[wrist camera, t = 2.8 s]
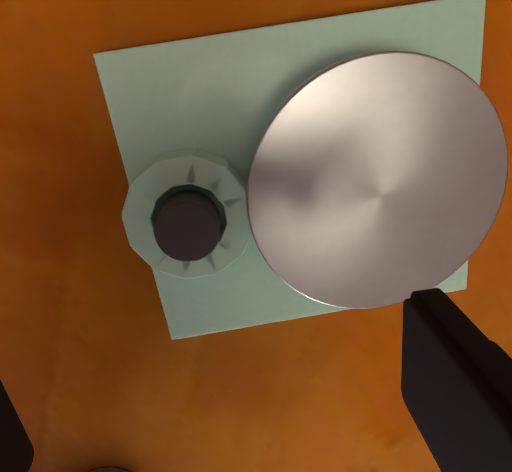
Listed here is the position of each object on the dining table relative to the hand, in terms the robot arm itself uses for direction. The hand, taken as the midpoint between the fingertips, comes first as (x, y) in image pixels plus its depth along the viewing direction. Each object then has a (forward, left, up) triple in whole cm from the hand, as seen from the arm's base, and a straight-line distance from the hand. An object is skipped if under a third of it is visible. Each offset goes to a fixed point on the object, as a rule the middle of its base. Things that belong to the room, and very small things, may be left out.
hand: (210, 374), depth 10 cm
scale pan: (+7, 0, -9) cm, 12 cm away
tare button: (-1, 0, -9) cm, 10 cm away
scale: (+5, 0, -12) cm, 13 cm away
